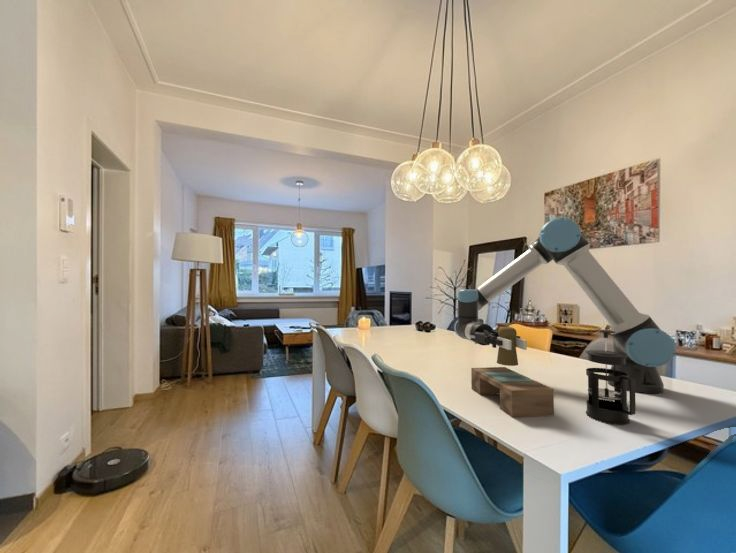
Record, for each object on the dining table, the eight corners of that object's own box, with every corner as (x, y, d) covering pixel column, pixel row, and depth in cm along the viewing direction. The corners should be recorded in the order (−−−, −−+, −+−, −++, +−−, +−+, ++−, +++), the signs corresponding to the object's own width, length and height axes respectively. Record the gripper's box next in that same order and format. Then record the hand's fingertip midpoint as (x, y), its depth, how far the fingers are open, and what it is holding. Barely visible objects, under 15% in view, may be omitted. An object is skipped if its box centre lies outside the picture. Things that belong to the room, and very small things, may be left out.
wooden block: (471, 388, 110) (471, 367, 110) (504, 387, 111) (504, 366, 111) (512, 417, 86) (511, 389, 86) (553, 415, 87) (553, 387, 88)
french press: (575, 412, 90) (574, 328, 90) (599, 408, 93) (597, 327, 94) (620, 430, 79) (619, 334, 79) (646, 424, 82) (644, 332, 82)
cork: (521, 365, 96) (521, 328, 96) (501, 365, 96) (501, 328, 96) (513, 361, 102) (513, 325, 102) (493, 360, 102) (493, 325, 102)
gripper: (501, 343, 118) (545, 357, 95) (456, 344, 116) (489, 358, 92) (501, 322, 118) (545, 331, 95) (456, 322, 116) (489, 332, 93)
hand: (517, 345), depth 94 cm, fingers closed on cork, 4 cm apart
